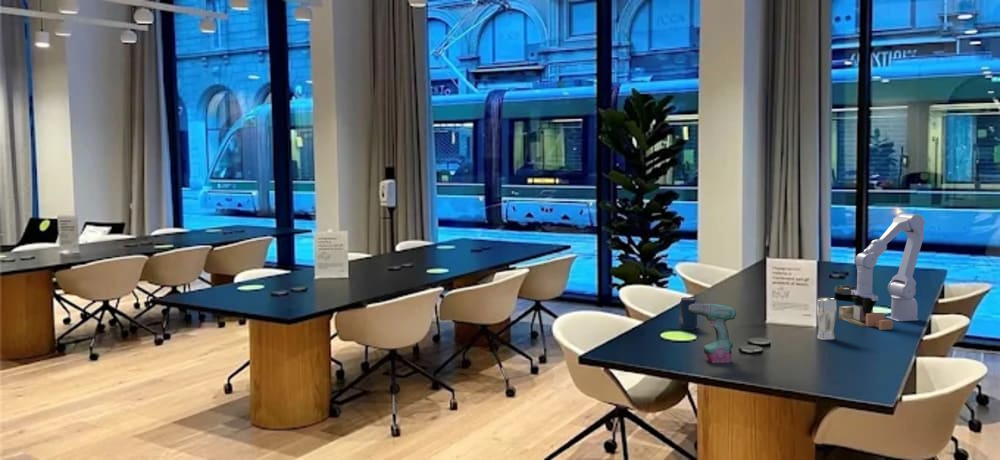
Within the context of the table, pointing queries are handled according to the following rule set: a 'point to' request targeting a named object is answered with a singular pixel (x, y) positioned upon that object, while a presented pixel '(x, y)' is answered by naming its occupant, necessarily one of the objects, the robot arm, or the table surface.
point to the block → (859, 313)
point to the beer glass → (826, 318)
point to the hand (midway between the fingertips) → (863, 315)
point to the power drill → (717, 330)
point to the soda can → (687, 313)
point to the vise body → (848, 314)
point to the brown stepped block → (878, 321)
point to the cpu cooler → (844, 292)
